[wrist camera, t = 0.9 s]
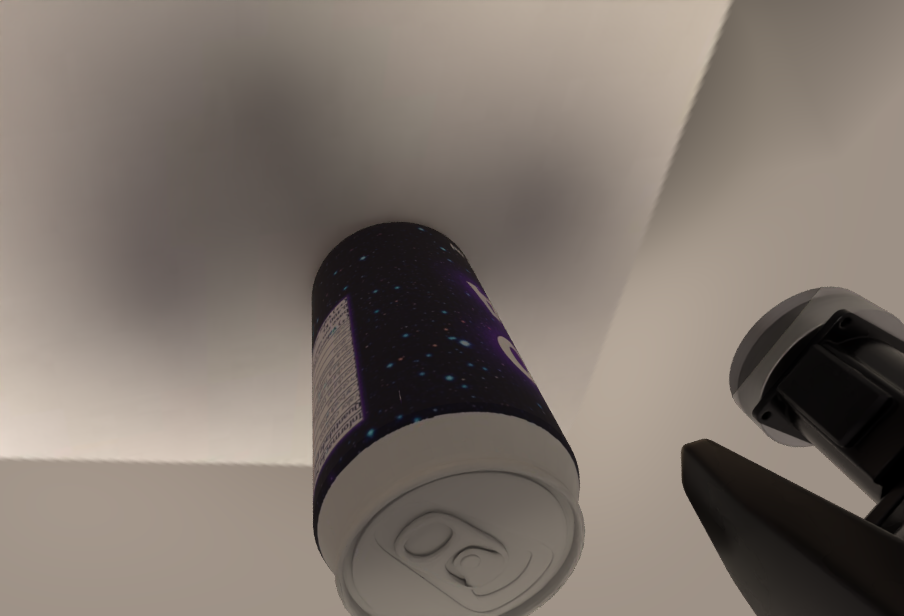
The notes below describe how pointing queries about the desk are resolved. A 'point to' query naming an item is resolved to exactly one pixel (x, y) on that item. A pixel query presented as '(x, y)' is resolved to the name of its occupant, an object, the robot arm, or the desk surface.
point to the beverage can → (431, 439)
